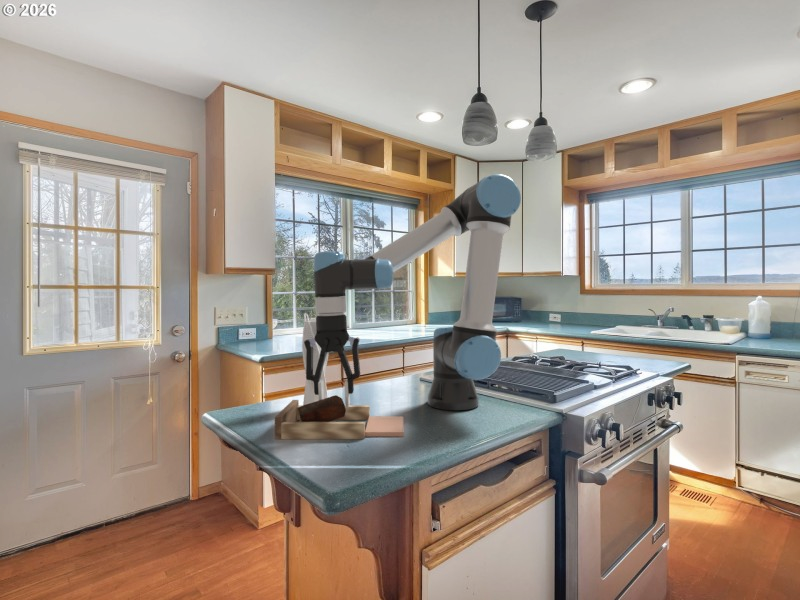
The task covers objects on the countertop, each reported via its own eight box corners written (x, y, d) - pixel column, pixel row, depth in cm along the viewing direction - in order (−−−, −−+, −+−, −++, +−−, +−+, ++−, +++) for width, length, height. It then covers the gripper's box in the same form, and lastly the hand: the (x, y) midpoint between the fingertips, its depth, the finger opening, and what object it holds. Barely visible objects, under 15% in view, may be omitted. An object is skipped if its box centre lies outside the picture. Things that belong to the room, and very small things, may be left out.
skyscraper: (296, 410, 122) (295, 312, 122) (310, 404, 129) (310, 311, 129) (319, 413, 119) (319, 313, 119) (333, 407, 126) (333, 312, 126)
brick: (304, 432, 101) (299, 415, 99) (301, 422, 104) (297, 406, 102) (347, 416, 104) (343, 400, 102) (343, 407, 107) (339, 392, 105)
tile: (403, 420, 113) (403, 416, 113) (403, 436, 100) (403, 432, 100) (369, 420, 113) (369, 416, 113) (364, 436, 100) (364, 432, 100)
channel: (369, 418, 114) (369, 399, 114) (364, 438, 98) (364, 417, 98) (292, 418, 114) (292, 399, 114) (274, 439, 98) (274, 417, 98)
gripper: (370, 312, 110) (373, 401, 110) (297, 314, 110) (300, 404, 110) (367, 313, 102) (371, 409, 103) (289, 316, 102) (293, 412, 103)
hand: (334, 406), depth 107 cm, fingers open, 6 cm apart
